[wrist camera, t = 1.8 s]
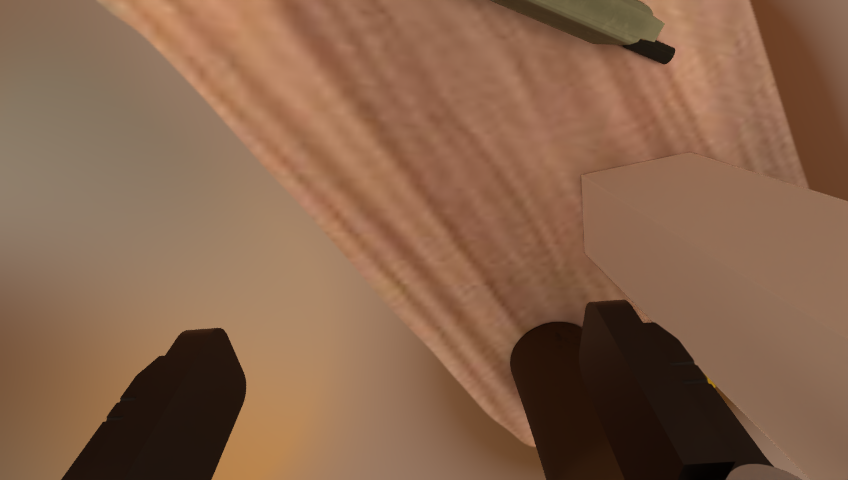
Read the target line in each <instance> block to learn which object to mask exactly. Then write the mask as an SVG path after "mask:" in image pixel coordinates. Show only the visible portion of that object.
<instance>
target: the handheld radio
mask: <svg viewBox="0 0 848 480" xmlns="http://www.w3.org/2000/svg"><path fill="white" fill-rule="evenodd" d="M491 1H493V2H495V3H498V4H500V5H502V6H505V7H507V8H509V9H512V10H514V11H517V12H519V13H521V14H524V15H526V16H528V17H531V18H533V19H536V20H538V21H540V22H543V23H545V24H547V25H550V26H552V27H555V28H557V29H559V30H562V31H564V32H566V33H569V34H571V35H573V36H576V37H578V38H581V39H583V40H585V41H588V42H590V43H593V44H620V45H623V47H625V48H627V49H629V50H632V51H634V52H636V53H639V54H641V55H643V56H646V57H648V58H650V59H653V60H655V61H657V62H660V63H662V64H667V63H668V62H670V60H671V59H672V58H673V56H674V54H675V48H673V47H670V46H668V45H666V44H664V43H661V42H659V41H657V40H656V39H657V37H658V35H659V33H660V31H661V30H662V28H663V26H664V24H665V23H663V22H662V21H660V20H659V19H657V18H656V17H654V16H653V13H652V10H651V9H650V8H649V7H648V6H647V5H645V4H644V3H642V2H640V1H638V0H491Z"/></svg>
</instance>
